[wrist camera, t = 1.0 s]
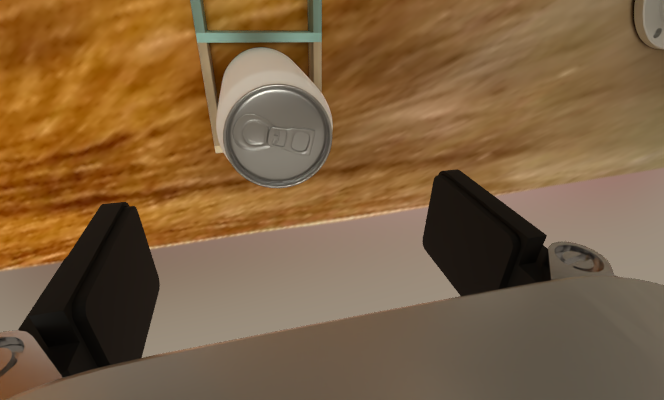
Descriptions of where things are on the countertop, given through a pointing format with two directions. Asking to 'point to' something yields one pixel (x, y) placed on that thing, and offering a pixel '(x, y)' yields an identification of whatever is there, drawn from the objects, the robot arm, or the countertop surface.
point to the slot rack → (218, 36)
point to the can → (272, 119)
